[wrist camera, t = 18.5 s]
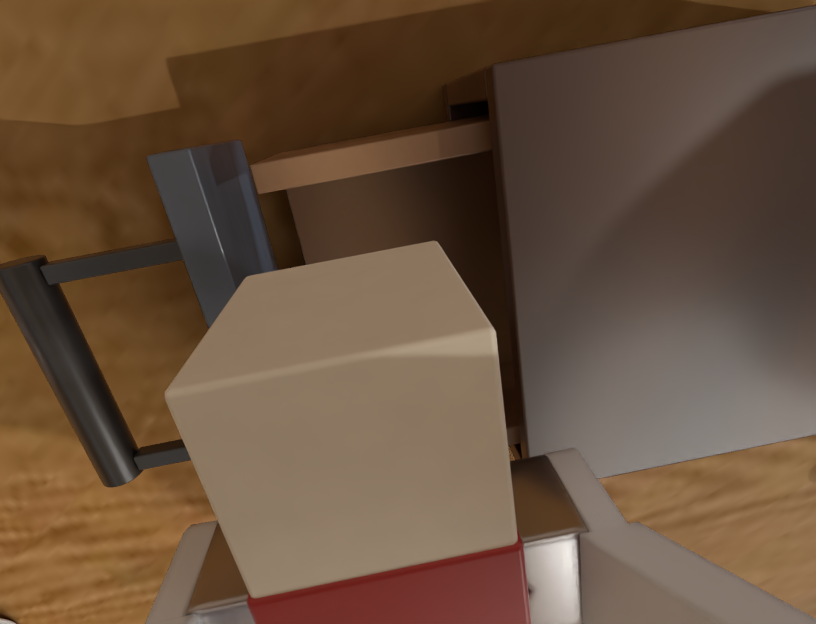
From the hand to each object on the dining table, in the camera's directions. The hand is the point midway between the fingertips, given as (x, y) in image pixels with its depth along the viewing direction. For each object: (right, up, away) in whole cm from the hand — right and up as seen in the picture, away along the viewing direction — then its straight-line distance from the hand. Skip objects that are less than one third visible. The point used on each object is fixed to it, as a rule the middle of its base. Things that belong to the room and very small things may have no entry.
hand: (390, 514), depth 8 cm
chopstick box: (0, +1, +1) cm, 2 cm away
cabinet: (+10, +7, +13) cm, 18 cm away
